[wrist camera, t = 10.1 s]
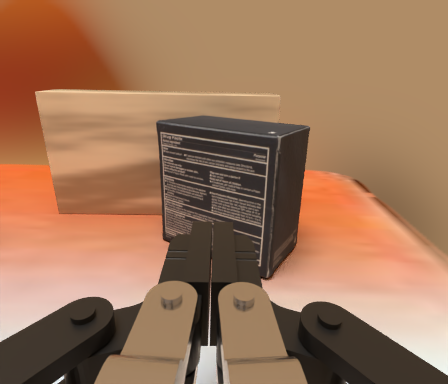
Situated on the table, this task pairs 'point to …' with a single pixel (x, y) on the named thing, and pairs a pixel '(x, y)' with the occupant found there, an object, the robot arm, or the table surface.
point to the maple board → (124, 142)
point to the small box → (234, 180)
